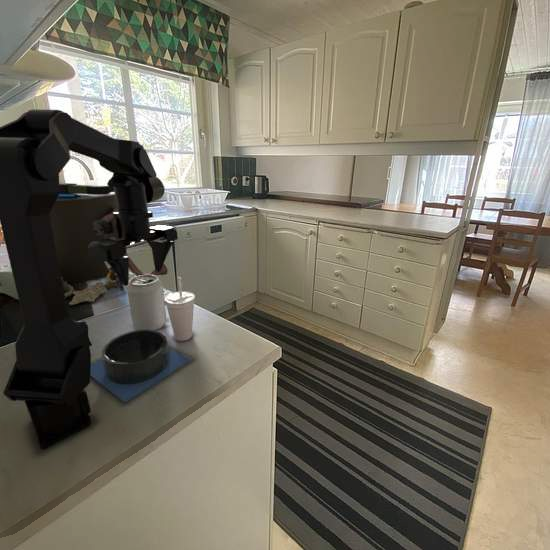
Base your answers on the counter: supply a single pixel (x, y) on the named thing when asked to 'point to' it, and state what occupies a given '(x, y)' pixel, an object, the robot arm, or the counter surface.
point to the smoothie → (181, 312)
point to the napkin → (132, 390)
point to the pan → (135, 356)
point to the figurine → (115, 279)
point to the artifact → (88, 294)
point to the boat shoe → (7, 282)
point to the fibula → (67, 287)
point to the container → (79, 235)
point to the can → (146, 302)
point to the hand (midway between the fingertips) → (142, 278)
